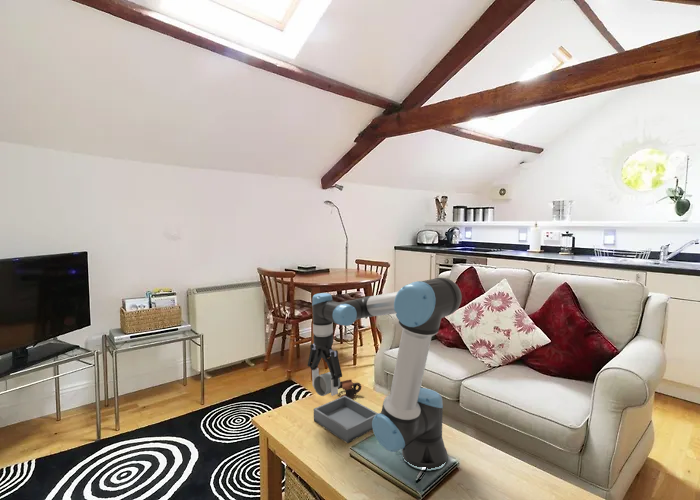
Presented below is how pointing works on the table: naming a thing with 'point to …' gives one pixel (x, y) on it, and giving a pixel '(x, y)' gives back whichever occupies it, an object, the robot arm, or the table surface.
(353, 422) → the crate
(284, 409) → the table surface
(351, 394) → the brown clay vessel
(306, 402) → the table surface
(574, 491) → the table surface
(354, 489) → the table surface
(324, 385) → the ceramic mug
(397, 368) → the robot arm
